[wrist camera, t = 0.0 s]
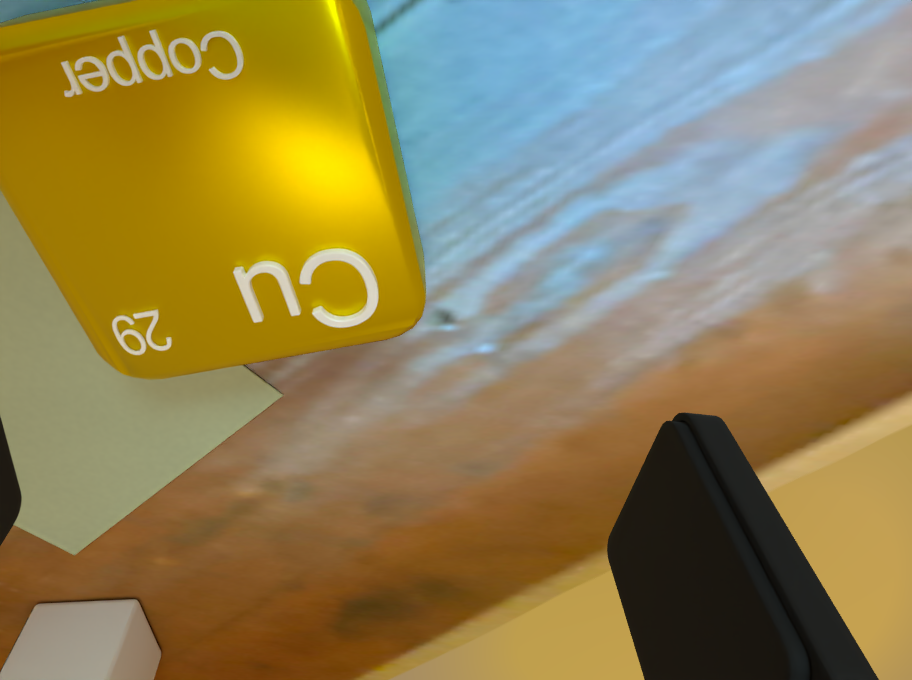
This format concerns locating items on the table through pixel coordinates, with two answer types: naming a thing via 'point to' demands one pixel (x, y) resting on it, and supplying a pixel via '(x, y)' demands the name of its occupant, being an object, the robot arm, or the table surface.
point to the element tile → (211, 178)
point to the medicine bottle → (84, 643)
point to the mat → (95, 409)
